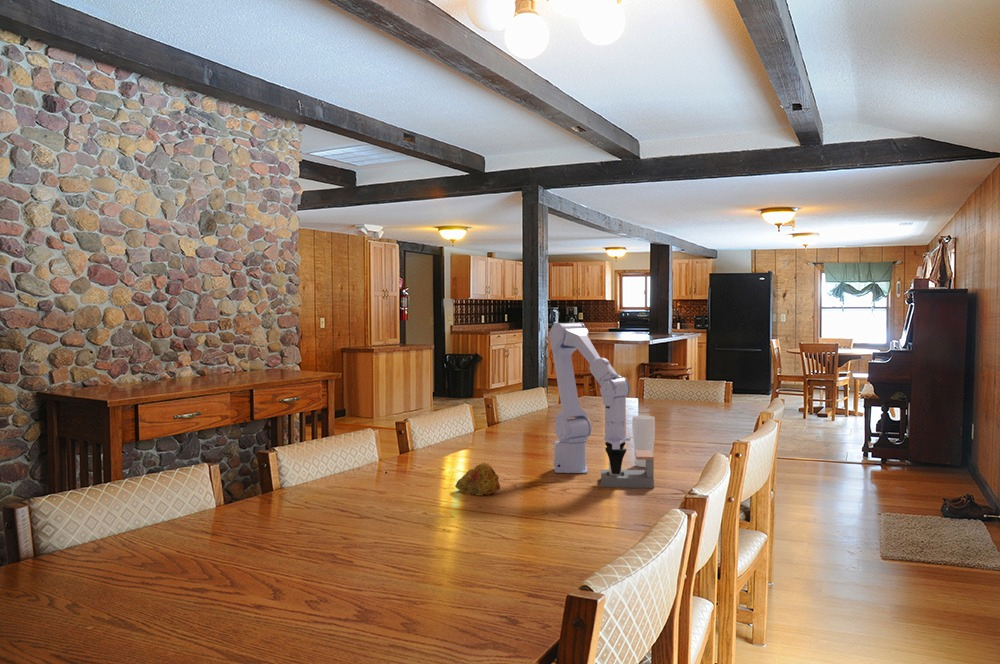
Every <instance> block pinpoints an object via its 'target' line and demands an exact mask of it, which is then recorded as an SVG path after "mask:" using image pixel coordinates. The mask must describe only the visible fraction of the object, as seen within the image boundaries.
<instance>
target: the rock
mask: <svg viewBox="0 0 1000 664" xmlns="http://www.w3.org/2000/svg"><path fill="white" fill-rule="evenodd" d="M499 479H500V477H499V476H498V475H497V473H496V471H495V469H493V468H492V466H491V465H489V464H488V463H487V462H482V463H481V464H477V465H476V466H475V467H474V468H471V469H468V470H467V472H466V473H465V474H464V475H463V476H462V477H461V478H459V479H458V480H457V481H456V484H455V489H457V490H459V491H462V492H463V493H464V494H466V493H468V494H467V495H476V496H477V495H478V497H481V496H489V495H491V494H492V493H496V492H499V490H501V485H500V482H499Z"/></svg>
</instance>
